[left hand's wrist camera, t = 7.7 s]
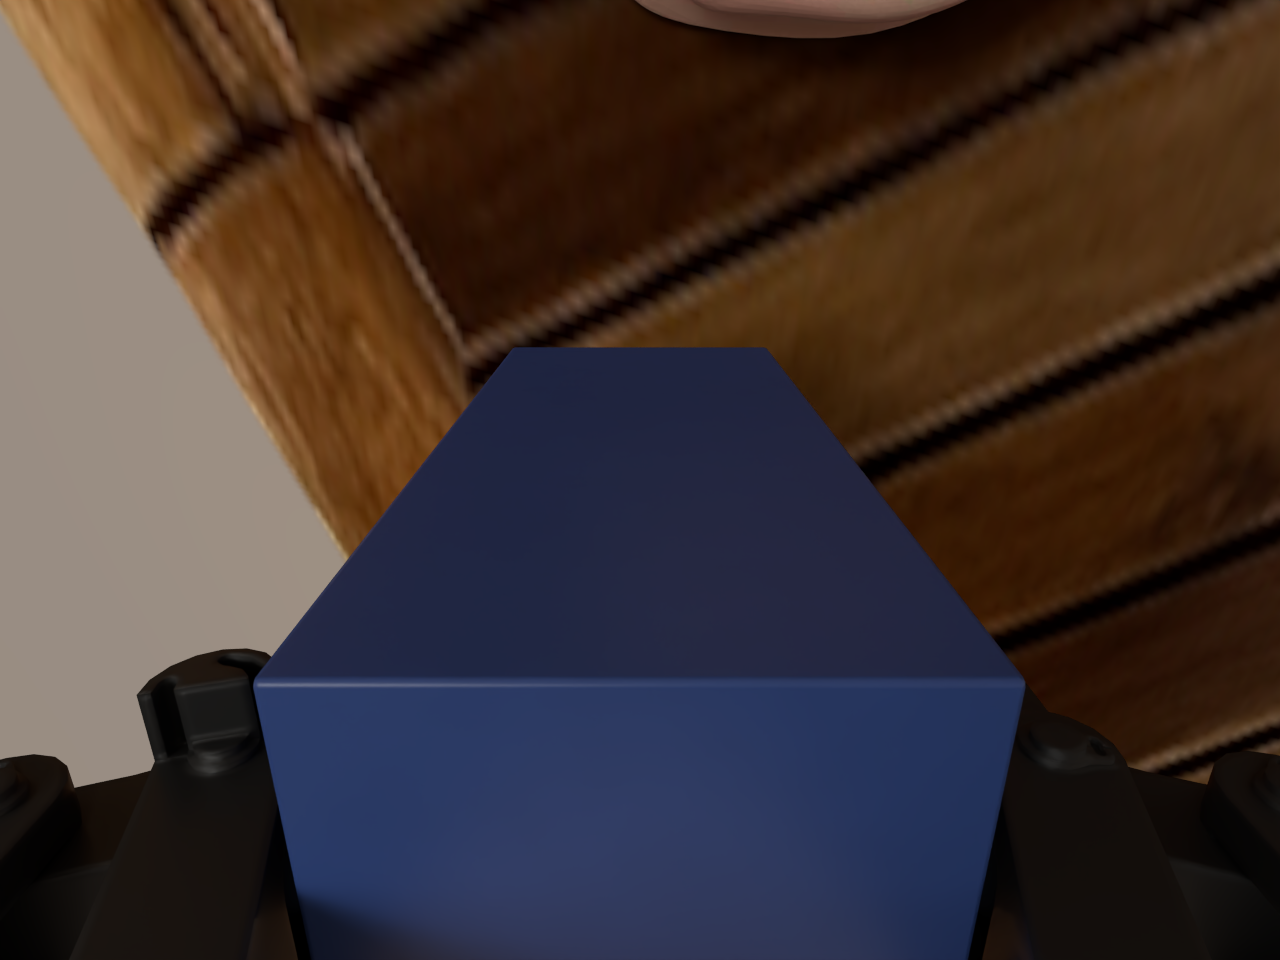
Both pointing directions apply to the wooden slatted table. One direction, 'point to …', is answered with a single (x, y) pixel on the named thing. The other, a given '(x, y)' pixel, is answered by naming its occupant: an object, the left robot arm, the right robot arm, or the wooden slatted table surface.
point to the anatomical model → (798, 15)
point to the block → (639, 690)
